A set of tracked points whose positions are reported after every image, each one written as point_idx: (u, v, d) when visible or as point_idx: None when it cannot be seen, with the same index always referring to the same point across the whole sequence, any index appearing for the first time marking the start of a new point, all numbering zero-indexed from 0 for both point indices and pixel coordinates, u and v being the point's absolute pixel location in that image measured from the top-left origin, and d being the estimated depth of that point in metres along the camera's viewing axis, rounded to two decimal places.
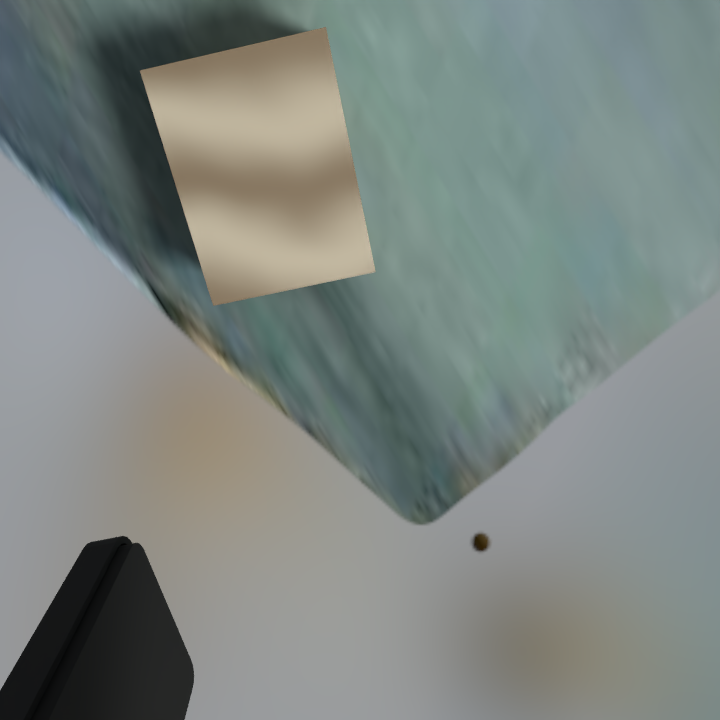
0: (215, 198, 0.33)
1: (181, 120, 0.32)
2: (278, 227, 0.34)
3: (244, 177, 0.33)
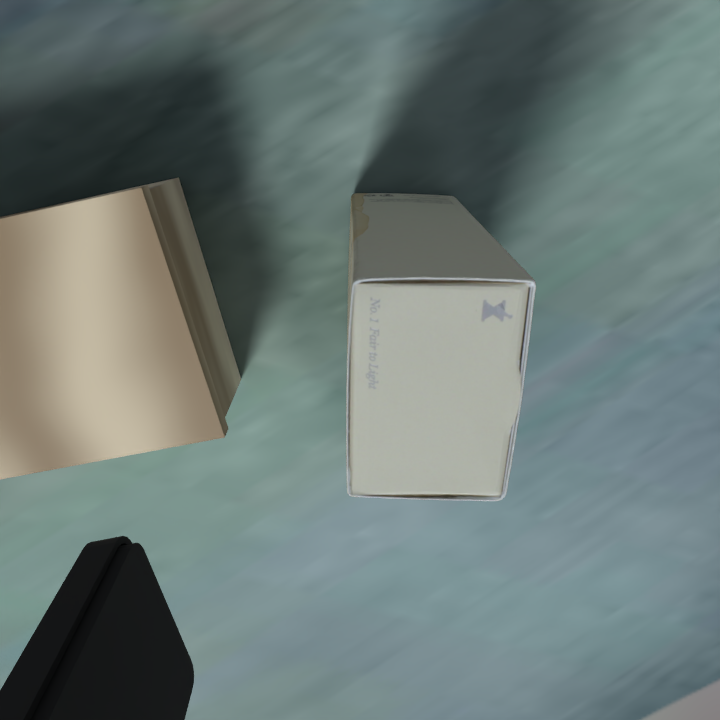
0: None
1: (79, 242, 0.21)
2: None
3: (14, 327, 0.22)
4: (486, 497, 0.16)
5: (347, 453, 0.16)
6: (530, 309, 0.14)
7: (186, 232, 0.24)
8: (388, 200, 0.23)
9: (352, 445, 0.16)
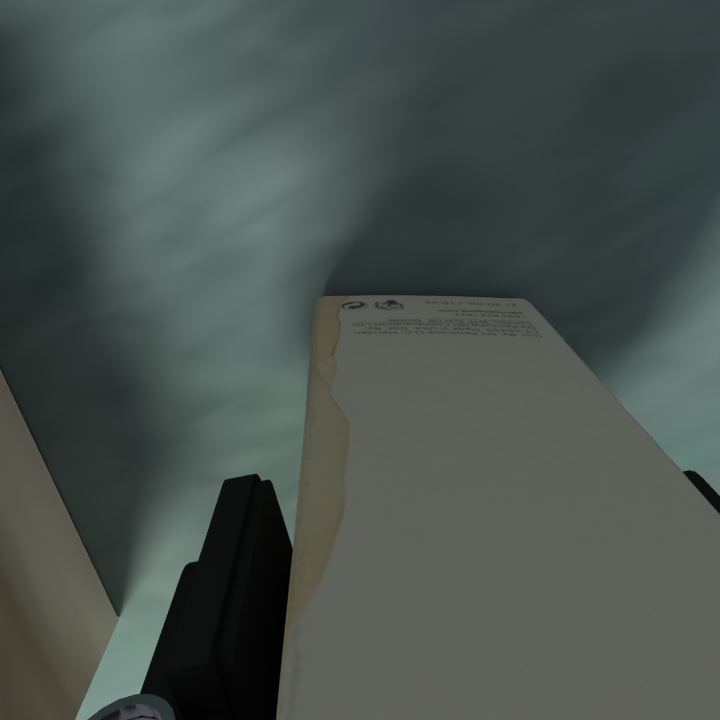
0: None
1: None
2: None
3: None
4: None
5: None
6: None
7: None
8: (395, 327, 0.10)
9: None
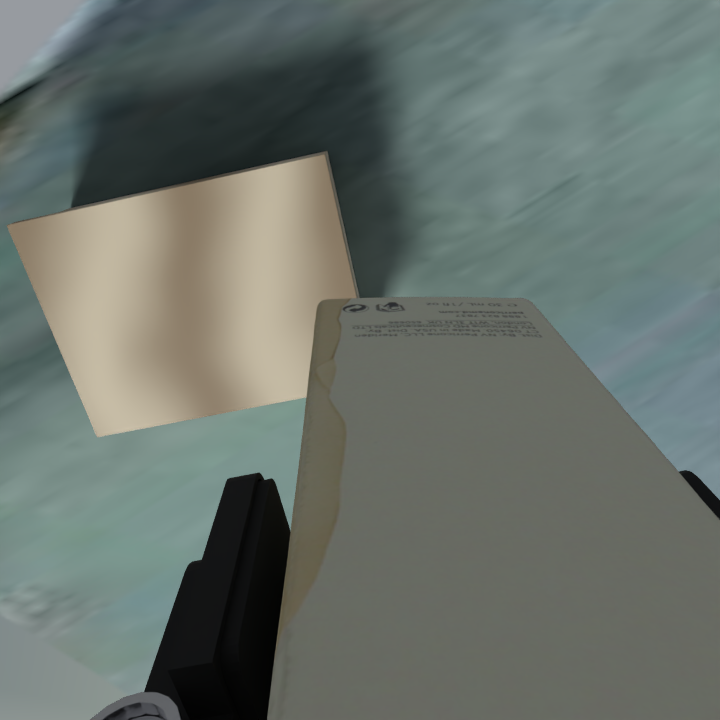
0: (165, 241, 0.24)
1: (264, 204, 0.23)
2: (137, 322, 0.25)
3: (197, 282, 0.25)
4: None
5: None
6: None
7: (336, 200, 0.27)
8: (395, 330, 0.10)
9: None
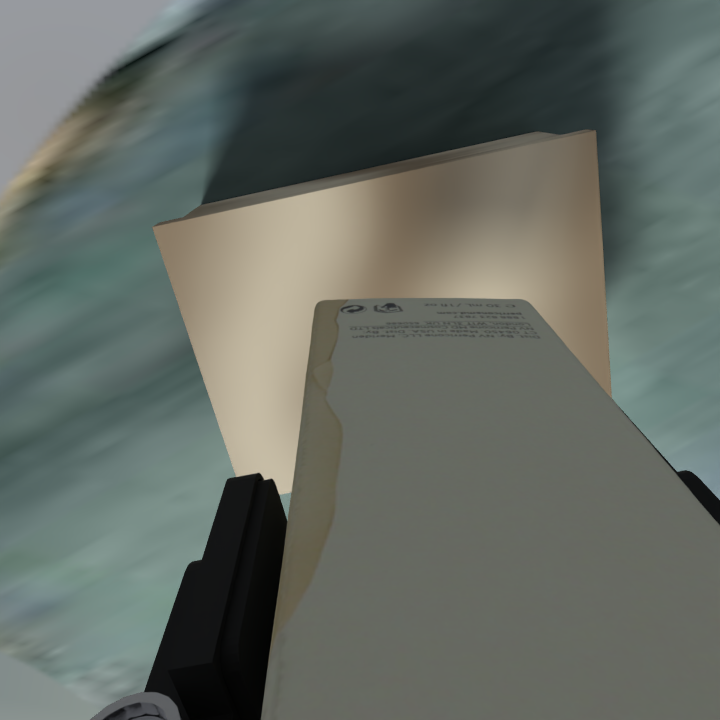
0: (365, 249, 0.18)
1: (504, 198, 0.17)
2: None
3: None
4: None
5: None
6: None
7: None
8: (392, 331, 0.10)
9: None
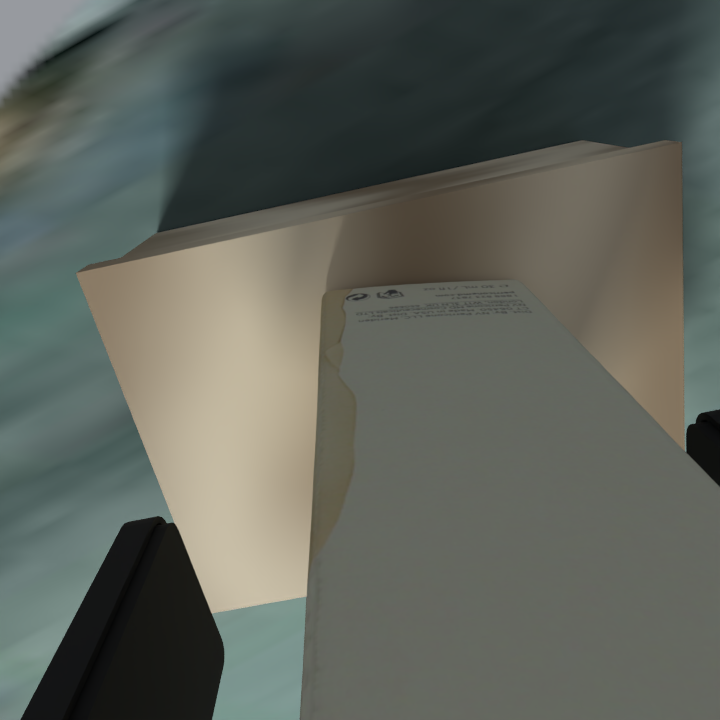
0: None
1: (554, 233, 0.13)
2: (297, 436, 0.14)
3: None
4: None
5: None
6: None
7: None
8: (395, 314, 0.11)
9: None
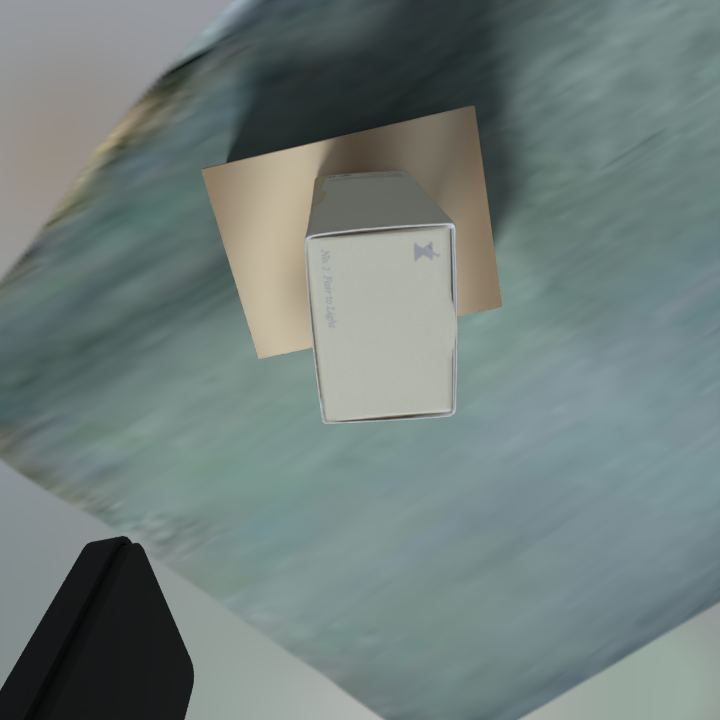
0: None
1: (421, 149, 0.28)
2: (303, 254, 0.29)
3: None
4: (440, 414, 0.19)
5: (318, 386, 0.19)
6: (453, 247, 0.17)
7: None
8: (346, 179, 0.26)
9: (321, 378, 0.19)
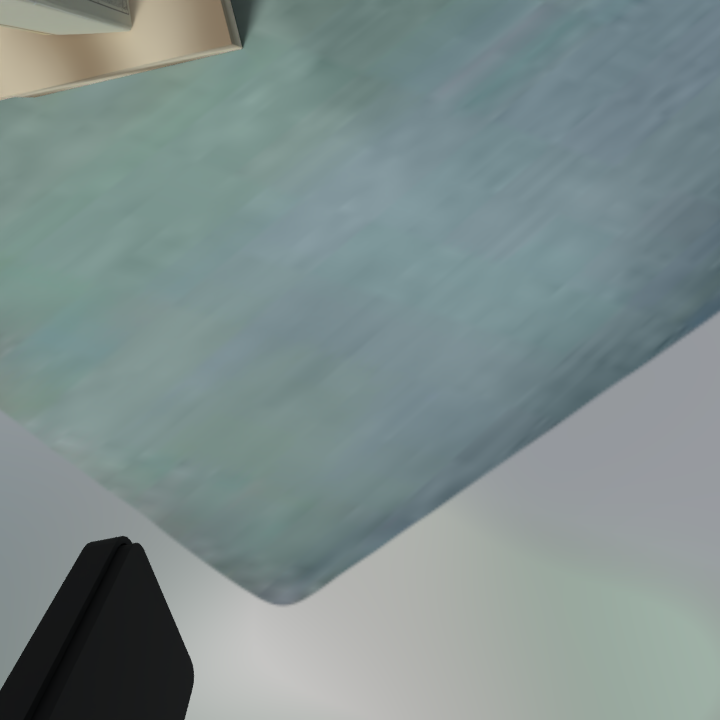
0: None
1: None
2: None
3: None
4: None
5: None
6: None
7: None
8: None
9: None
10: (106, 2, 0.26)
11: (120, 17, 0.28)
